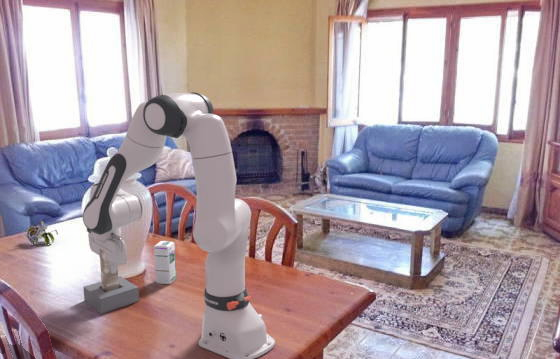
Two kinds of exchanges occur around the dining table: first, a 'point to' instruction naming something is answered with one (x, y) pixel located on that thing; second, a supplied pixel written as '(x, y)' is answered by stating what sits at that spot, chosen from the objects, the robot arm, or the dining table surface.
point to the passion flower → (39, 233)
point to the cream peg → (107, 274)
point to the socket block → (111, 295)
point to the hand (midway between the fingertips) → (109, 270)
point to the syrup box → (165, 262)
